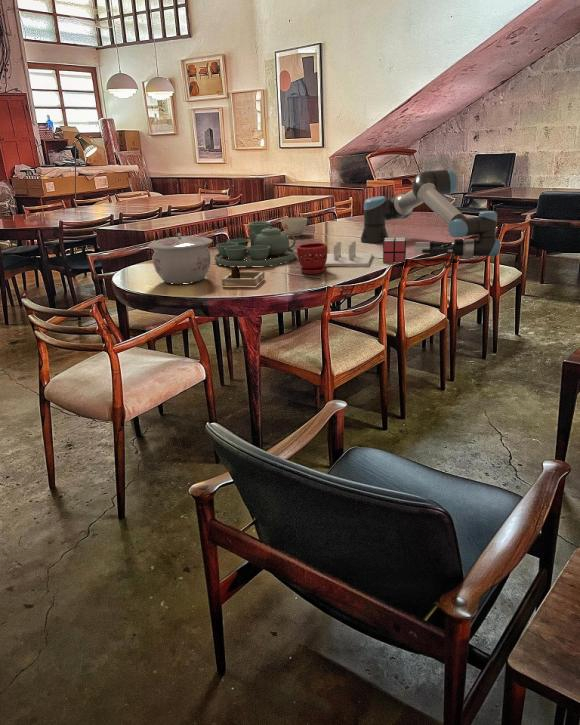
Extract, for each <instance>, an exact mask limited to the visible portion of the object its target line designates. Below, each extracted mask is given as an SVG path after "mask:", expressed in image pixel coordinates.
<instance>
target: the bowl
mask: <svg viewBox="0 0 580 725" xmlns="http://www.w3.org/2000/svg"><path fill="white" fill-rule="evenodd" d="M280 223H281V227H282V229H283V232H285V234H286V233H291V234H293V235H294V236H298V237H300V236H301V234H302V233H304V232H305V230H306V228H307V225H308V224H307V223H308V218H307V217H301V216H300V217H299V216H298V217H297V216H296V217H285V218H281V219H280ZM288 236H289V237H290V235H288Z"/></svg>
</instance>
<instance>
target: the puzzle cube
mask: <svg viewBox="0 0 580 725" xmlns="http://www.w3.org/2000/svg"><path fill="white" fill-rule="evenodd" d="M406 253H407V238H406V237H388V238H384V241H383V242H382V263H383V264H390V263H389V262H404V261H405V262H406V259H405V258H407V256H406V255H407V254H406Z"/></svg>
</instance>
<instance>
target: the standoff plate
mask: <svg viewBox="0 0 580 725" xmlns="http://www.w3.org/2000/svg"><path fill="white" fill-rule="evenodd" d="M356 246H357V245H356V241H350V243H349V244H348V252H347V253H342V242H341V241H335V244H333V252H332V253H331V252H330V253H328V252H327V260H326V263H325V266H345V267H347V268H353V267H354V268H356V267H357V268H367V267H369V265H370V263H371V261H372V260H373V256H374V253H372V252H369V253H368V252H364V253H363V252H362V253H361V252H360V253H359V252H356V250H357V249H356ZM345 267H344V268H345Z"/></svg>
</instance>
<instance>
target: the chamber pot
mask: <svg viewBox="0 0 580 725" xmlns="http://www.w3.org/2000/svg"><path fill="white" fill-rule="evenodd" d="M212 243H213V239H211V238H209V237H205V236H194V235H185V236H183V235H182V236H181V232H178V233H177V236H172V237H165V238H161V239H157V240H154V241H152V242H149V243H148V244H147V246H146V247H147V248H149V249H150V250H153V254H152V257H151V258H152V259H151V260H152V264H153V267H154V270H155V273H156V274H157V275H158V276H159V277H160V279H161V280H162V281H163V282H165V283H166V282H167V284H170V283H173V284H172V285H174V284H183V283H191V282H196V281H198V282H200V281H202V280H204V279H205V278H206V276H207V274H208V271H209V270H210V267H211V251H210V249H209V247H208V245H210V244H212ZM196 283H197V282H196Z"/></svg>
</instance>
